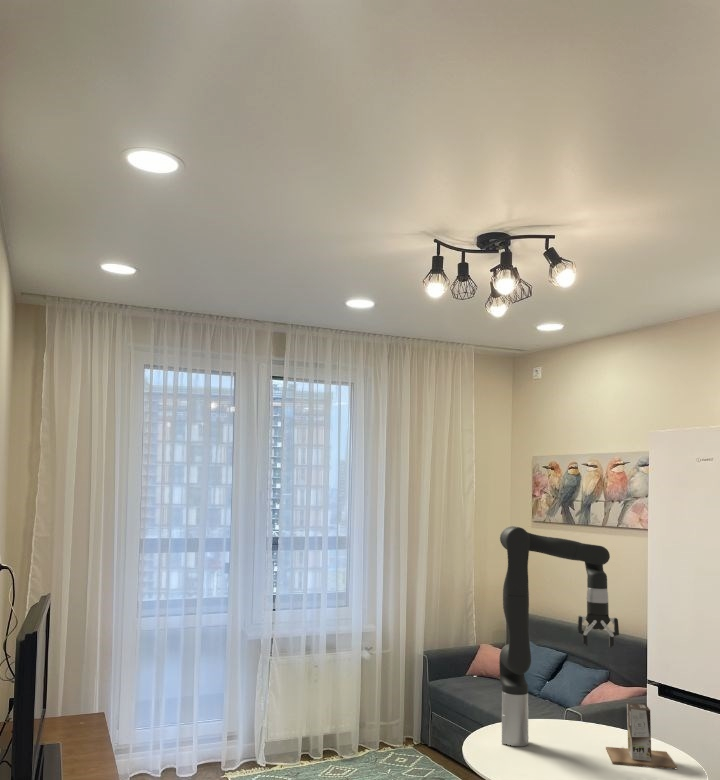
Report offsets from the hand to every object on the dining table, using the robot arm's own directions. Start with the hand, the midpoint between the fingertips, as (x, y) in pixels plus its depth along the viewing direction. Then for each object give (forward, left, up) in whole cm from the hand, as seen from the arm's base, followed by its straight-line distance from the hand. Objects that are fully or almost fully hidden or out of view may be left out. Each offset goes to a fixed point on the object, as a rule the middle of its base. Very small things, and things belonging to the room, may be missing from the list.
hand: (598, 646), depth 273 cm
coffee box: (+11, -15, -32) cm, 37 cm away
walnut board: (+11, -15, -33) cm, 38 cm away
